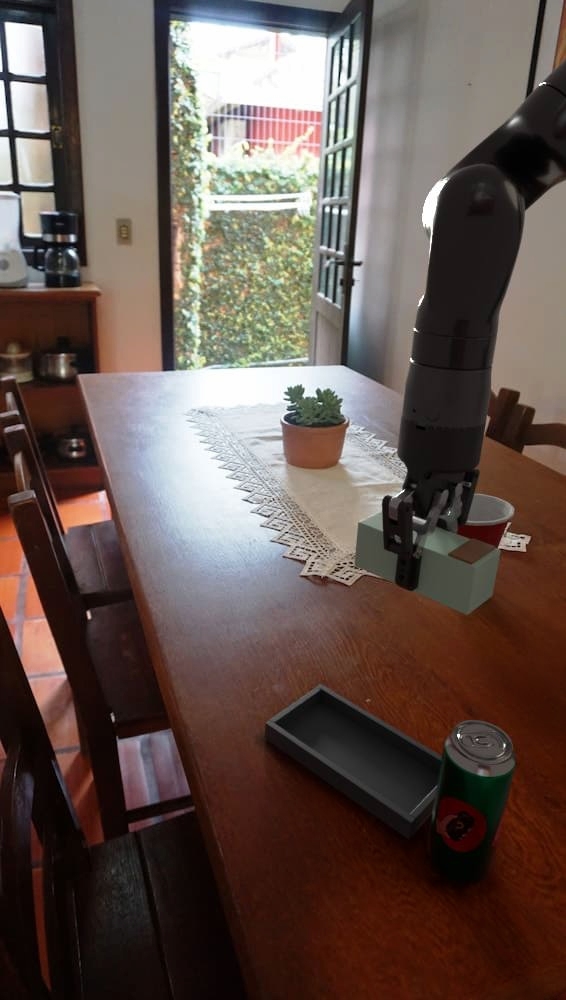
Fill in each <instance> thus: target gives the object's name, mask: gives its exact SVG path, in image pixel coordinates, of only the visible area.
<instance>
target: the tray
mask: <svg viewBox="0 0 566 1000" xmlns="http://www.w3.org/2000/svg"><path fill="white" fill-rule="evenodd" d="M264 739H265V740H266V741H268V743H271V745H273V746H275V747H276V748H277V749H279V750H280V751H281V752H283V753H284V754H286V755H287V756H289V757H290V758H292V759H293V760H295V762H298V763H299V764H300V765H301V766H303V767H304V768H306V769H307V770H308V771H310V772H311V773H313V774H315V776H317V777H318V778H320V779H322V780H323V781H324V782H326V783H327V784H329V785H330V786H332V787H333V788H334V789H336V790H337V791H339V792H340V793H342V795H345V796H346V797H347V798H348V799H350V800H351V801H353V802H354V803H356V804H357V805H359V806H360V807H361V808H363V809H364V810H365V811H367V812H368V813H370V814H371V815H373V816H374V817H375V818H377V819H378V820H380V821H381V822H383V823H384V824H385V825H387V826H388V827H390V828H391V829H393V830H394V831H396V832H397V833H399V834H400V835H401V836H403V838H405V839H407V840H408V841H409V840H410V839H411V838H412V837H413V836H414V835H415V834H416V833H417V832H418V831H419V829H420V828H422V826H423V825H424V824H425V823H426V822H427V820H429V818H431V817H432V812H433V806H434V800H435V794H436V789H437V783H438V777H439V771H440V766H441V760H442V754H439V753H437V752H436V751H434V750H432V749H430V747H429V748H428V747H427V746H426V745H423V744H422V743H420V742H419V741H417V740H415V739H413V738H412V737H411V736H409V735H407V734H405V733H404V732H402V731H400V730H398V729H397V728H396V727H394V726H392V725H391V724H388V723H387V722H385V721H384V720H382V719H380V718H378V717H377V716H376V715H373V714H372V713H371V712H369V711H367V710H365V709H363V708H361V707H360V706H359V705H357V704H355V703H353V702H351V701H350V700H348V699H346V698H344V697H343V696H341V695H340V694H338V693H336V692H335V691H333V690H331V689H330V688H328V687H326V686H325V685H323V684H321V683H320V684H319V685H317V686H316V687H315V688H313V689H312V690H310V691H309V692H307V693H306V694H305V695H303V696H301V697H300V698H298V699H297V700H296V701H295V702H293V703H291V704H290V705H289V706H288V707H286V708H284V709H283V710H282V711H280V712H279V713H277V714H276V715H275V716H273V717H272V718H270V719H269V720H267V721H266V722H265V725H264Z"/></svg>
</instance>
